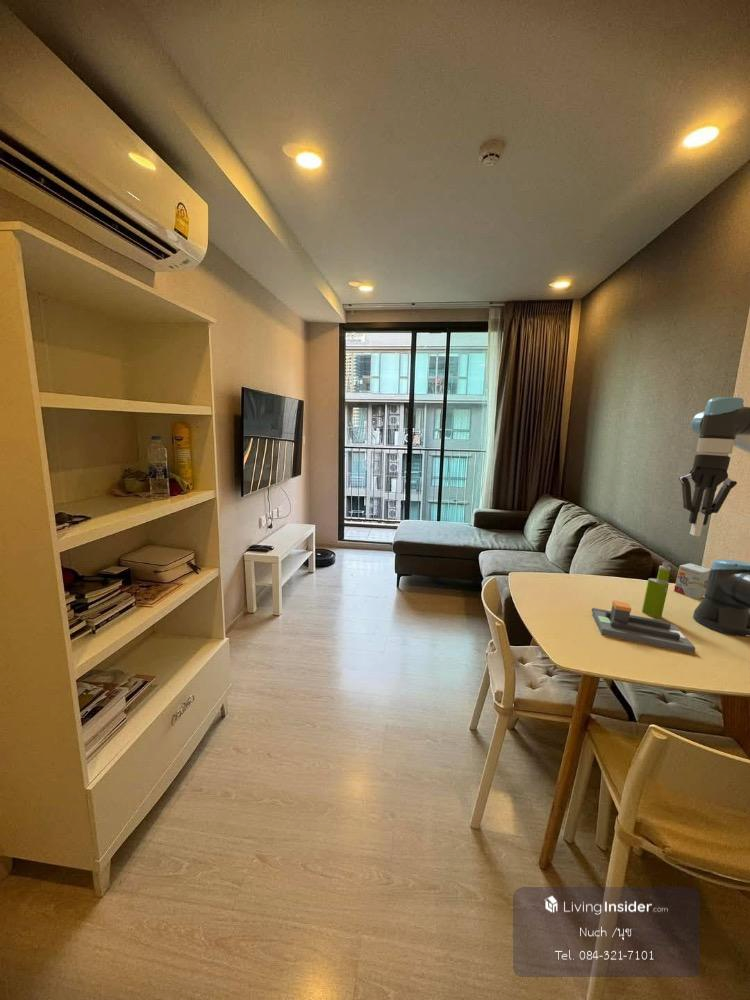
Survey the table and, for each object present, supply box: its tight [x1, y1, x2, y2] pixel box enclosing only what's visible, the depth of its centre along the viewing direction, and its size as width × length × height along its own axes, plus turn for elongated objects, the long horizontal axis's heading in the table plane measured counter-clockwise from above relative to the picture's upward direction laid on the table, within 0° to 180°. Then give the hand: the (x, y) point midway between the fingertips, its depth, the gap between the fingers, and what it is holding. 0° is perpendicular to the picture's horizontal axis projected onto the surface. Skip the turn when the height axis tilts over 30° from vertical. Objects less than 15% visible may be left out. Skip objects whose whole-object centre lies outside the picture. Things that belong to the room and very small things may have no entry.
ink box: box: [673, 563, 711, 600], centre depth 155 cm, size 9×9×12 cm
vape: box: [641, 561, 672, 619], centre depth 132 cm, size 4×6×20 cm, turn 26°
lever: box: [610, 600, 632, 623], centre depth 121 cm, size 4×4×6 cm
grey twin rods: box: [591, 607, 668, 622], centre depth 129 cm, size 23×3×1 cm, turn 70°
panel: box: [591, 610, 696, 654], centre depth 120 cm, size 24×14×4 cm, turn 70°
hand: (694, 534), depth 110 cm, fingers closed
